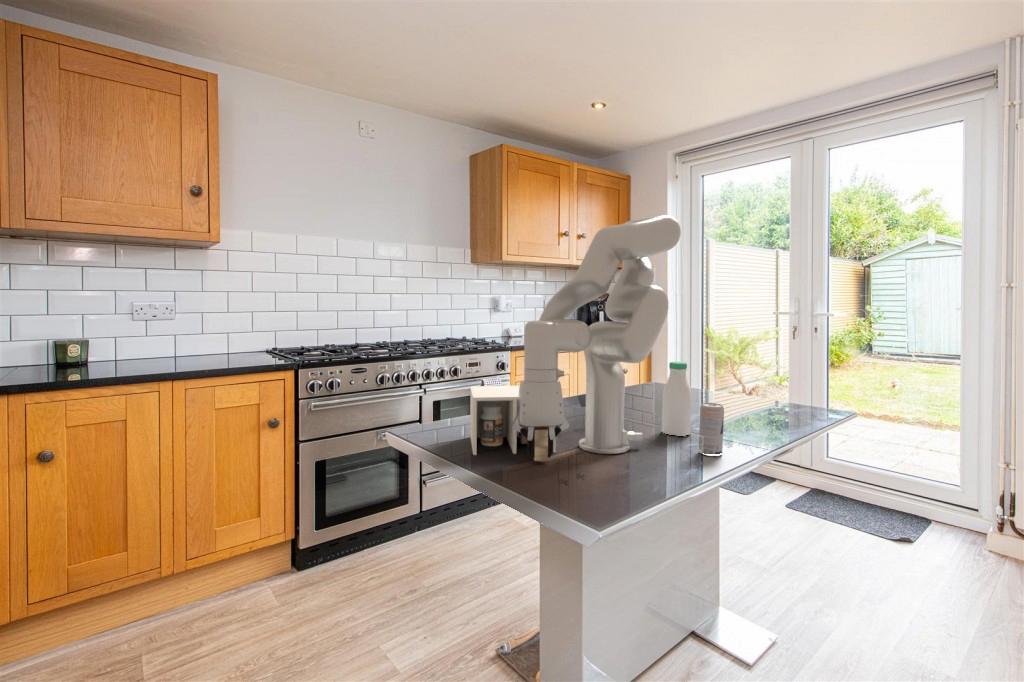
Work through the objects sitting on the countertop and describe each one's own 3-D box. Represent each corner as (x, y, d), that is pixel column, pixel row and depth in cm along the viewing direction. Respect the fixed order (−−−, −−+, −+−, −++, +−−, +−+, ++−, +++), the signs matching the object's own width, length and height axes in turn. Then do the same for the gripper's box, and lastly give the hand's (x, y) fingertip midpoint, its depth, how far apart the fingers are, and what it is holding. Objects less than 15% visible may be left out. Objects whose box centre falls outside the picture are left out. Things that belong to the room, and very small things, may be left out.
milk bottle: (694, 437, 139) (697, 364, 138) (665, 437, 140) (668, 364, 138) (685, 430, 147) (687, 360, 146) (658, 430, 147) (660, 360, 146)
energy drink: (722, 452, 126) (724, 403, 125) (721, 458, 121) (723, 408, 120) (699, 449, 128) (701, 402, 127) (697, 455, 123) (699, 406, 122)
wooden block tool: (538, 438, 135) (538, 411, 134) (552, 460, 116) (552, 429, 115) (519, 438, 134) (519, 412, 134) (530, 461, 115) (530, 430, 115)
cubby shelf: (543, 435, 141) (544, 385, 140) (555, 452, 125) (556, 396, 124) (470, 437, 138) (470, 386, 137) (473, 454, 123) (473, 397, 122)
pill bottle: (500, 447, 129) (500, 408, 128) (478, 446, 130) (478, 407, 129) (505, 441, 134) (505, 404, 134) (483, 440, 135) (483, 403, 135)
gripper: (572, 373, 120) (571, 450, 122) (502, 373, 118) (502, 452, 120) (580, 378, 113) (579, 460, 114) (506, 379, 111) (506, 462, 112)
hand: (540, 455), depth 117 cm, fingers closed on wooden block tool, 3 cm apart
